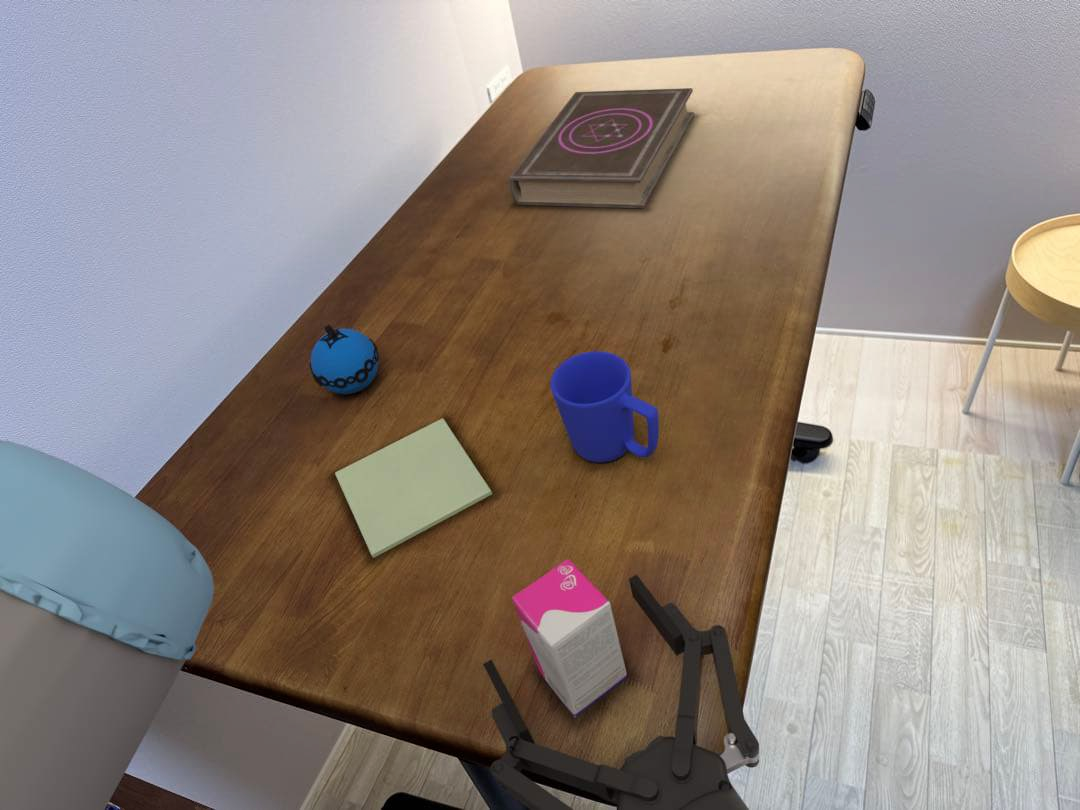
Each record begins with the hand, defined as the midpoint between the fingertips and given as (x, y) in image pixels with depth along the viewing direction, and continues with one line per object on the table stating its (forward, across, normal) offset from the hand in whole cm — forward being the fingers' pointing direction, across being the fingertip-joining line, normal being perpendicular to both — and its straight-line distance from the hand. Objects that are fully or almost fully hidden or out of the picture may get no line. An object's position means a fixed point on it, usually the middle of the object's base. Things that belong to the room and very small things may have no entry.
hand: (564, 626), depth 64 cm
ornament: (+50, -5, -6) cm, 50 cm away
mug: (+19, +16, -6) cm, 25 cm away
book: (+77, +50, -6) cm, 92 cm away
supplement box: (-1, 0, -6) cm, 6 cm away
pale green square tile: (+29, -5, -6) cm, 30 cm away
